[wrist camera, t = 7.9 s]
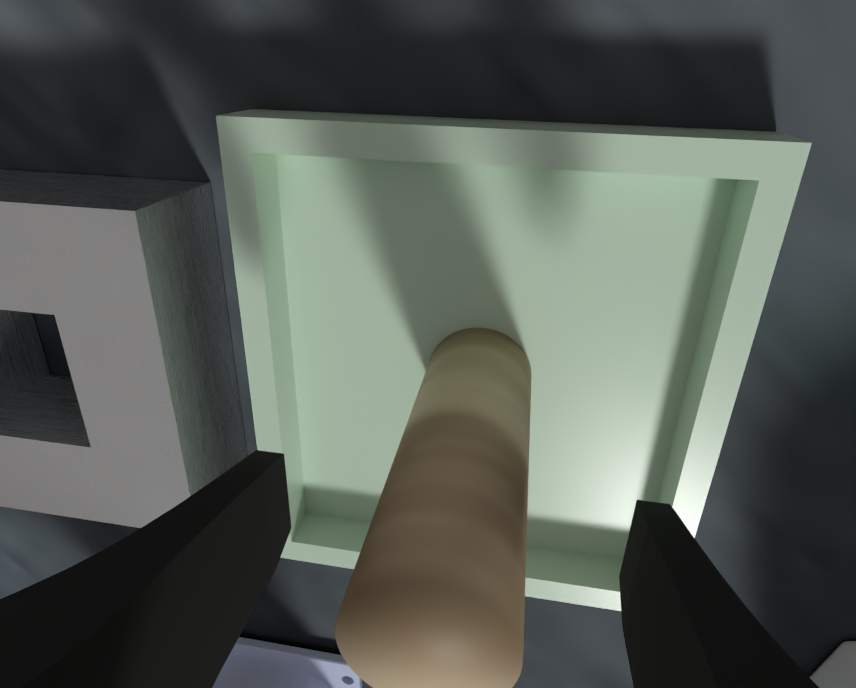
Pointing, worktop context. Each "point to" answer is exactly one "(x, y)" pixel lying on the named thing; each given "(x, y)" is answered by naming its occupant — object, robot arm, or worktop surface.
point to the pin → (449, 530)
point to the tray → (502, 307)
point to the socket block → (113, 346)
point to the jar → (838, 668)
